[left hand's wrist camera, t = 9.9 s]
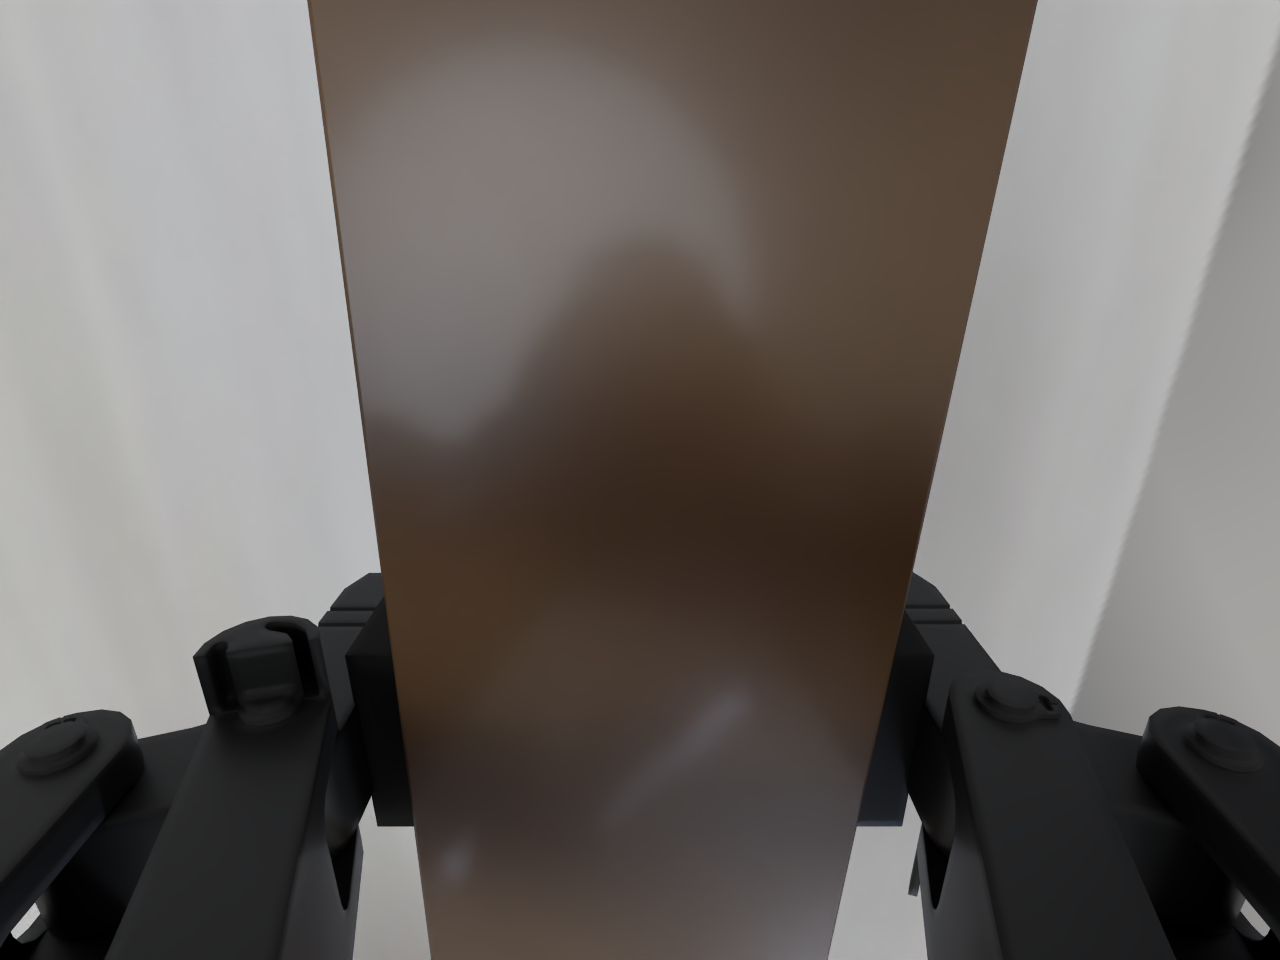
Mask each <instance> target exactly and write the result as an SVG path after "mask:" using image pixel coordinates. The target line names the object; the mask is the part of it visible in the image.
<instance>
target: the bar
mask: <svg viewBox="0 0 1280 960" xmlns="http://www.w3.org/2000/svg"><path fill="white" fill-rule="evenodd" d="M1037 1H1038V0H307V2H308V9H309V17H310V25H311V33H312V40H313V48H314V56H315V64H316V71H317V79H318V87H319V95H320V102H321V110H322V118H323V126H324V133H325V141H326V149H327V156H328V164H329V172H330V180H331V187H332V195H333V203H334V211H335V218H336V226H337V234H338V242H339V249H340V257H341V265H342V272H343V280H344V288H345V296H346V303H347V311H348V319H349V327H350V334H351V342H352V350H353V358H354V365H355V373H356V381H357V389H358V396H359V404H360V412H361V419H362V427H363V435H364V443H365V450H366V458H367V466H368V474H369V481H370V489H371V497H372V505H373V512H374V520H375V528H376V535H377V543H378V551H379V559H380V566H381V574H382V582H383V590H384V597H385V605H386V613H387V621H388V628H389V636H390V644H391V652H392V659H393V667H394V675H395V682H396V690H397V698H398V706H399V713H400V721H401V729H402V737H403V744H404V752H405V760H406V768H407V775H408V783H409V791H410V798H411V806H412V814H413V822H414V829H415V837H416V845H417V853H418V860H419V868H420V876H421V884H422V891H423V899H424V907H425V915H426V922H427V930H428V938H429V945H430V953H431V960H827V959H828V955H829V950H830V945H831V941H832V936H833V932H834V927H835V923H836V918H837V914H838V909H839V904H840V900H841V895H842V891H843V886H844V882H845V877H846V872H847V868H848V863H849V859H850V854H851V850H852V845H853V841H854V836H855V831H856V827H857V822H858V818H859V813H860V809H861V804H862V800H863V795H864V790H865V786H866V781H867V777H868V772H869V768H870V763H871V758H872V754H873V749H874V745H875V740H876V736H877V731H878V727H879V722H880V717H881V713H882V708H883V704H884V699H885V695H886V690H887V685H888V681H889V676H890V672H891V667H892V663H893V658H894V654H895V649H896V644H897V640H898V635H899V631H900V626H901V622H902V617H903V613H904V608H905V603H906V599H907V594H908V590H909V585H910V581H911V576H912V571H913V567H914V562H915V558H916V553H917V549H918V544H919V540H920V535H921V530H922V526H923V521H924V517H925V512H926V508H927V503H928V498H929V494H930V489H931V485H932V480H933V476H934V471H935V467H936V462H937V457H938V453H939V448H940V444H941V439H942V435H943V430H944V426H945V421H946V416H947V412H948V407H949V403H950V398H951V394H952V389H953V384H954V380H955V375H956V371H957V366H958V362H959V357H960V353H961V348H962V343H963V339H964V334H965V330H966V325H967V321H968V316H969V311H970V307H971V302H972V298H973V293H974V289H975V284H976V280H977V275H978V270H979V266H980V261H981V257H982V252H983V248H984V243H985V239H986V234H987V229H988V225H989V220H990V216H991V211H992V207H993V202H994V197H995V193H996V188H997V184H998V179H999V175H1000V170H1001V166H1002V161H1003V156H1004V152H1005V147H1006V143H1007V138H1008V134H1009V129H1010V124H1011V120H1012V115H1013V111H1014V106H1015V102H1016V97H1017V93H1018V88H1019V83H1020V79H1021V74H1022V70H1023V65H1024V61H1025V56H1026V52H1027V47H1028V42H1029V38H1030V33H1031V29H1032V24H1033V20H1034V15H1035V10H1036V6H1037Z"/></svg>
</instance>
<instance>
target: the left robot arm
mask: <svg viewBox="0 0 1280 960" xmlns="http://www.w3.org/2000/svg"><path fill="white" fill-rule="evenodd" d="M193 659H194V663H195V666H196V670H197V673H198V677H199V680H200V683H201V687H202V690H203V694H204V697H205V701H206V704H207V708H208V711H209V714H210V716H209V719H208V721H207V723H206V724H204V725H201V726H197V727H193V728H189V729H184V730H179V731H175V732H170V733H165V734H161V735H156V736H151V737H146V738H142V739H137V736H136V733H135V730H134V727H133V724H132V721H131V719H129V718H128V717H126V716H125V715H124V714H122V713H121V712H117V711H109V710H95V711H87V712H80V713H75V714H71V715H67V716H64V717H62V718H57V719H54V720H51V721H49V722H46V723H44V724H43V725H41V726H39V727H37V728H35V729H33V730H31V731H29V732H27V733H25V734H23V735H21V736H20V737H18V738H17V739H16V740H14V741H13V742H11V743H10V744H9V745H7V746H6V747H4V748H3V749H2V750H0V960H352V959H353V949H354V939H355V929H356V920H357V910H358V900H359V890H360V881H361V871H362V861H363V847H362V840H361V835H360V830H359V825H358V824H359V822H360V820H361V817H362V815H363V813H364V811H365V809H366V806H367V804H368V802H369V800H370V798H371V795H372V800H373V805H374V811H375V816H376V821H377V826H414V822H413V814H412V806H411V798H410V791H409V783H408V775H407V768H406V760H405V752H404V744H403V737H402V729H401V721H400V713H399V706H398V698H397V690H396V682H395V675H394V667H393V659H392V652H391V644H390V636H389V628H388V621H387V613H386V605H385V597H384V590H383V582H382V574H381V573H368V574H367V575H365V576H364V577H362V578H361V579H359V580H358V581H356V582H354V583H353V584H351V585H350V586H348V587H347V588H345V589H344V590H343V592H342V593H341V594H340V595H339V597H338V598H337V599H336V601H335V602H334V603H333V605H332V606H331V607H330V611H327V612H326V614H325V615H324V616H323V618H322V619H321V620H320V621H319V625H318V627H317V626H316V625H315V624H313V623H312V622H311V621H309V620H308V619H304V618H299V617H295V616H273V617H266V618H261V619H257V620H252V621H248V622H245V623H242V624H240V625H237V626H235V627H232V628H230V629H227V630H225V631H223V632H221V633H220V634H218V635H217V636H215V637H213V638H212V639H210V640H209V641H207V642H206V643H204V644H203V646H202V647H201V648H200V649H199V650H198V651H197V653H196V654H195V655H194V656H193ZM908 793H909V795H910V797H911V799H912V802H913V804H914V806H915V808H916V810H917V813H918V815H919V817H920V819H921V821H922V825H921V830H920V835H919V840H918V845H917V849H916V854H915V859H914V864H913V869H912V874H911V879H910V885H909V891H908V894H909V895H913V896H917V895H918V890H919V885H920V888H921V898H922V908H923V918H924V927H925V937H926V947H927V956H928V960H1280V747H1279V746H1278V745H1277V744H1275V743H1274V742H1272V741H1271V740H1270V739H1268V738H1267V737H1265V736H1264V735H1263V734H1261V733H1260V732H1258V731H1256V730H1254V729H1252V728H1250V727H1248V726H1246V725H1244V724H1242V723H1240V722H1238V721H1236V720H1235V719H1232V718H1230V717H1227V716H1224V715H1221V714H1220V715H1218V714H1217V713H1214V712H1210V711H1206V710H1201V709H1194V708H1186V707H1171V708H1163V709H1159V710H1158V711H1157V712H1155V713H1154V714H1152V715H1151V716H1150V717H1149V720H1148V722H1147V725H1146V728H1145V731H1144V734H1143V736H1138V735H1134V734H1129V733H1124V732H1119V731H1115V730H1110V729H1105V728H1100V727H1095V726H1091V725H1087V724H1083V723H1079V722H1076V721H1073V720H1072V717H1071V715H1070V714H1069V712H1068V711H1067V709H1066V708H1065V707H1064V705H1063V704H1062V703H1061V701H1060V700H1059V699H1058V698H1056V697H1055V696H1054V695H1052V694H1051V693H1050V692H1048V691H1047V690H1046V689H1044V688H1043V687H1041V686H1039V685H1037V684H1035V683H1033V682H1031V681H1029V680H1026V679H1024V678H1022V677H1019V676H1016V675H1012V674H1008V673H1004V672H1001V671H1000V669H999V668H998V667H997V666H996V664H995V663H994V662H993V660H992V659H991V658H990V656H989V655H988V654H987V653H986V651H985V650H984V649H983V647H982V646H981V645H980V644H979V642H978V641H977V640H976V638H975V637H974V636H973V635H972V633H971V632H970V631H969V629H968V628H967V627H966V625H965V624H962V620H961V619H960V618H959V616H958V615H957V614H956V613H955V611H954V610H953V609H950V605H949V604H948V602H947V601H946V600H945V598H944V597H943V596H942V594H941V593H940V592H939V591H938V589H937V588H936V587H935V586H934V585H932V584H931V583H929V582H927V581H926V580H924V579H923V578H921V577H920V576H918V575H917V574H915V573H914V572H912V576H911V581H910V585H909V590H908V594H907V599H906V603H905V608H904V613H903V617H902V622H901V626H900V631H899V635H898V640H897V644H896V649H895V654H894V658H893V663H892V667H891V672H890V676H889V681H888V685H887V690H886V695H885V699H884V704H883V708H882V713H881V717H880V722H879V727H878V731H877V736H876V740H875V745H874V749H873V754H872V758H871V763H870V768H869V772H868V777H867V781H866V786H865V790H864V795H863V800H862V804H861V809H860V813H859V818H858V822H857V826H902V824H903V819H904V813H905V808H906V803H907V798H908ZM1245 899H1246V900H1247V901H1248V902H1249V903H1250V904H1251V905H1252V907H1253V908H1254V909H1255V910H1256V912H1257V913H1258V914H1259V915H1260V916H1261V918H1262V919H1263V920H1264V921H1265V922H1266V924H1267V925H1268V926H1269V927H1270V930H1269V932H1268V934H1267V935H1266V936H1265V937H1264V936H1262V935H1261V934H1260V933H1259V932H1258V931H1257V930H1256V929H1255V928H1254V927H1253V926H1252V925H1251V924H1250V923H1249V921H1248V920H1247V919H1246V918H1245V916H1244V915H1243V914H1242V913H1241V911H1240V910H1241V908H1242V906H1243V904H1244V901H1245ZM34 903H36V905H37V907H38V909H39V912H40V915H39V916H38V917H37V919H36V920H35V921H34V922H33V924H32V925H31V926H30V927H29V929H27V930H26V931H25V932H24V933H23V934H22V935H21V936H20V937H19V938H17V939H15V938H14V937H13V936H12V934H11V931H12V929H13V928H14V927H15V926H16V925H17V923H18V922H19V921H20V920H21V919H22V917H23V916H24V915H25V914H26V913H27V911H28V910H29V909H30V908H31V906H32V905H33V904H34Z"/></svg>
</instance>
